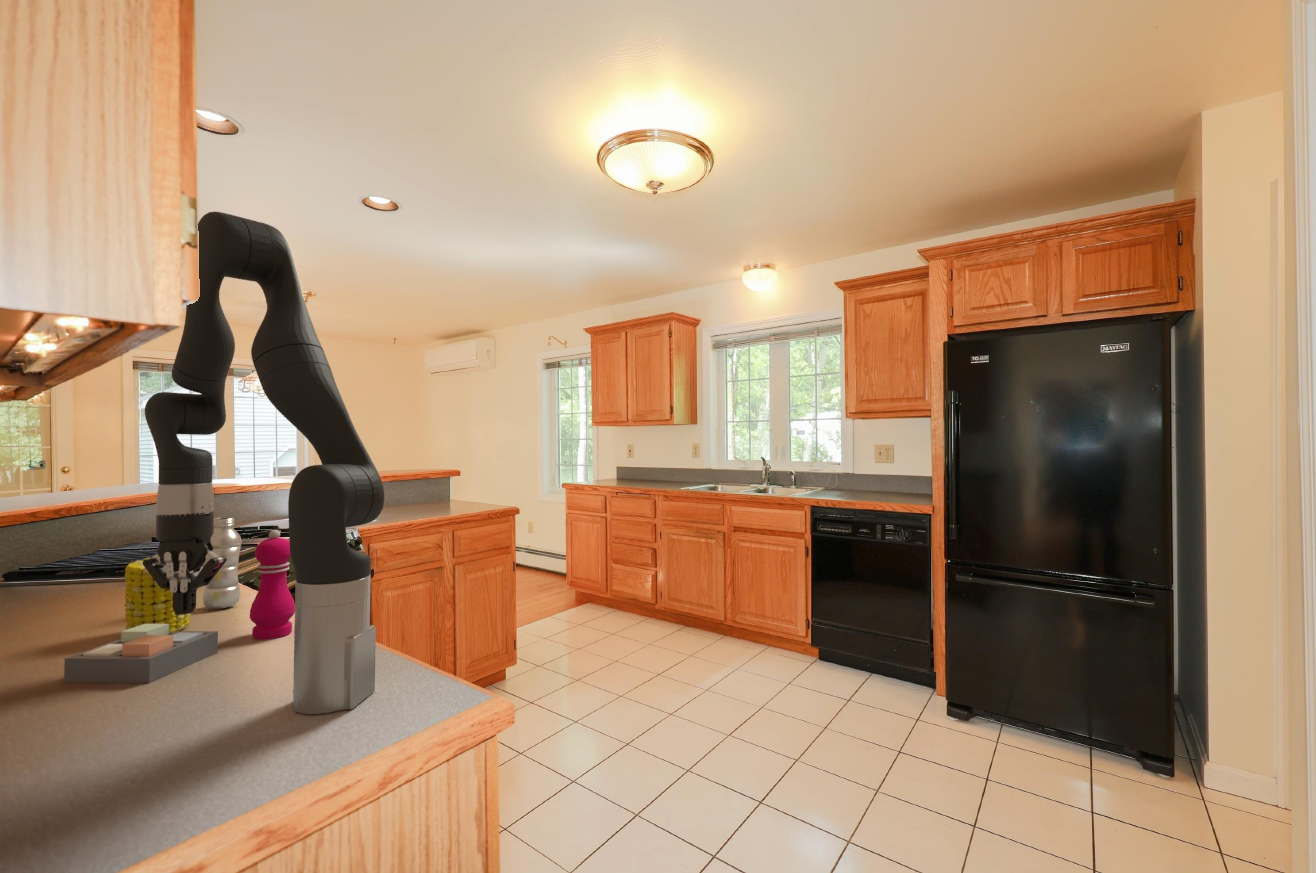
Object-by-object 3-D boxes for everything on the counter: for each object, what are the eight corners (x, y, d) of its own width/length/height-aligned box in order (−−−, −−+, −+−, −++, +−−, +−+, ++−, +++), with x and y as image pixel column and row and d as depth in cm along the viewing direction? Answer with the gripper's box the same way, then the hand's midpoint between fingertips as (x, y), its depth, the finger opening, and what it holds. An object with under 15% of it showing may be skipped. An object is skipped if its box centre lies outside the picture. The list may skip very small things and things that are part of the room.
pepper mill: (303, 629, 110) (305, 527, 111) (275, 641, 103) (277, 532, 104) (269, 628, 111) (272, 526, 112) (239, 640, 104) (241, 532, 104)
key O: (202, 651, 96) (203, 632, 96) (182, 660, 92) (182, 640, 92) (178, 651, 96) (179, 632, 96) (156, 660, 92) (157, 640, 92)
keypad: (217, 652, 98) (217, 631, 98) (149, 682, 85) (149, 658, 85) (143, 651, 98) (143, 630, 98) (63, 682, 85) (64, 658, 85)
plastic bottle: (210, 605, 127) (212, 517, 128) (245, 602, 129) (247, 516, 130) (196, 613, 121) (198, 520, 122) (233, 610, 123) (235, 519, 124)
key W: (168, 643, 96) (169, 623, 96) (146, 651, 92) (146, 631, 92) (144, 642, 96) (144, 623, 96) (120, 651, 92) (121, 631, 92)
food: (194, 629, 115) (171, 648, 105) (123, 622, 111) (93, 641, 101) (215, 556, 116) (195, 568, 106) (145, 546, 112) (118, 558, 102)
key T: (172, 655, 90) (173, 635, 90) (148, 665, 86) (149, 644, 86) (146, 655, 90) (147, 635, 90) (121, 665, 86) (122, 644, 86)
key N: (135, 664, 90) (136, 644, 90) (109, 675, 86) (110, 653, 86) (109, 664, 90) (110, 643, 90) (82, 674, 86) (83, 653, 86)
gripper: (125, 513, 91) (124, 620, 91) (206, 512, 91) (204, 619, 91) (166, 508, 99) (165, 607, 98) (240, 507, 99) (240, 606, 98)
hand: (184, 613), depth 95 cm, fingers closed
